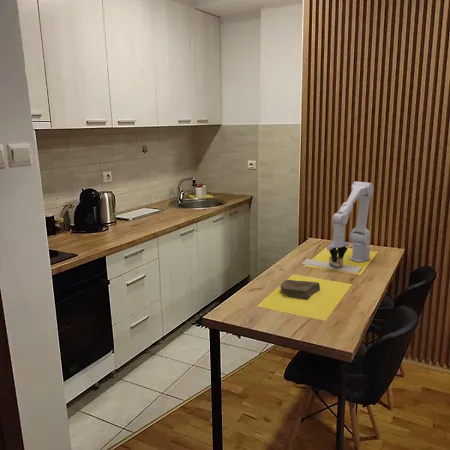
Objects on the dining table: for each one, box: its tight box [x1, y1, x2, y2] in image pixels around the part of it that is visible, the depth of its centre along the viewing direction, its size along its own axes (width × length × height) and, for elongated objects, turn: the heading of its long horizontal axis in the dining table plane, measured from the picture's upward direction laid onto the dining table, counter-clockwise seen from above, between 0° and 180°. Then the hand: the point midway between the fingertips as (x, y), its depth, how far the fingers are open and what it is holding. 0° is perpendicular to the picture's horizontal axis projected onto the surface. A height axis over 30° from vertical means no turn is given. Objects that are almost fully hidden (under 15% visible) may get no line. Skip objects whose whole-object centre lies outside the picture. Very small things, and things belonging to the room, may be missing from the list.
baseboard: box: [301, 257, 362, 275], centre depth 227 cm, size 30×3×10 cm
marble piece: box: [280, 279, 321, 300], centre depth 192 cm, size 17×15×4 cm
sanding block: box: [328, 256, 344, 268], centre depth 224 cm, size 4×6×4 cm, turn 33°
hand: (337, 260), depth 223 cm, fingers closed on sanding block, 4 cm apart
